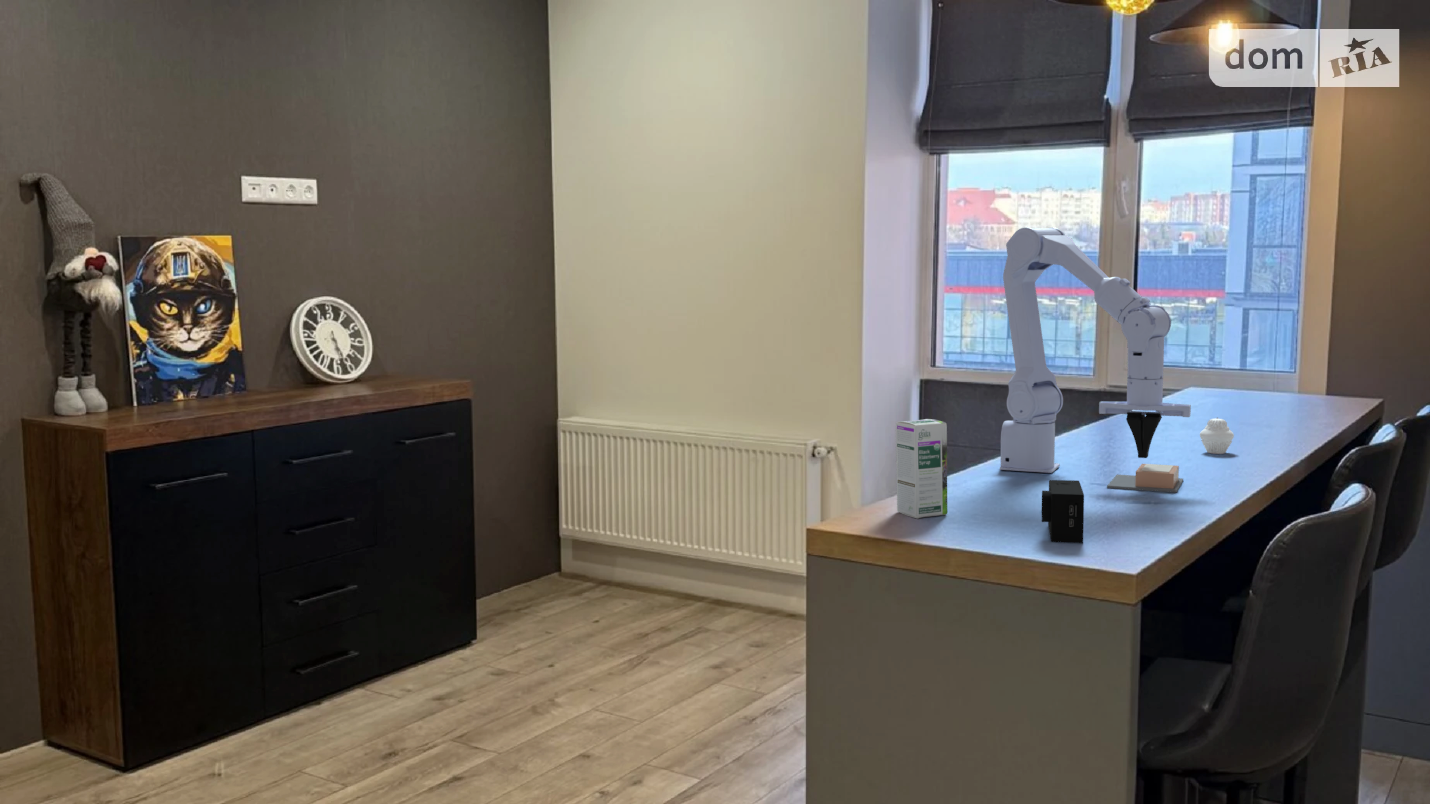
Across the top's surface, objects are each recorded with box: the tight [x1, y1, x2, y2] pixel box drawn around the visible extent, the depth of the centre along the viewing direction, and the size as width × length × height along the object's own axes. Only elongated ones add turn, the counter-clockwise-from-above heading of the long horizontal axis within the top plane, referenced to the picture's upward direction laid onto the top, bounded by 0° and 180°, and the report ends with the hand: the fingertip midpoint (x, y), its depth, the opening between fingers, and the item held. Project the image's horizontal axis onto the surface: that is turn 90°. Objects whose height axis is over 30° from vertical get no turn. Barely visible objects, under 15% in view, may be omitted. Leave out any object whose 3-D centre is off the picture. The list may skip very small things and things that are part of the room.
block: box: [1135, 463, 1180, 489], centre depth 202 cm, size 3×8×6 cm
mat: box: [1106, 473, 1184, 494], centre depth 203 cm, size 11×11×1 cm
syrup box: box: [895, 418, 948, 519], centre depth 183 cm, size 6×6×14 cm
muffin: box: [1199, 417, 1235, 455], centre depth 232 cm, size 6×6×7 cm
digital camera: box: [1041, 479, 1085, 544], centre depth 169 cm, size 10×5×7 cm, turn 167°
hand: (1143, 457), depth 203 cm, fingers closed
